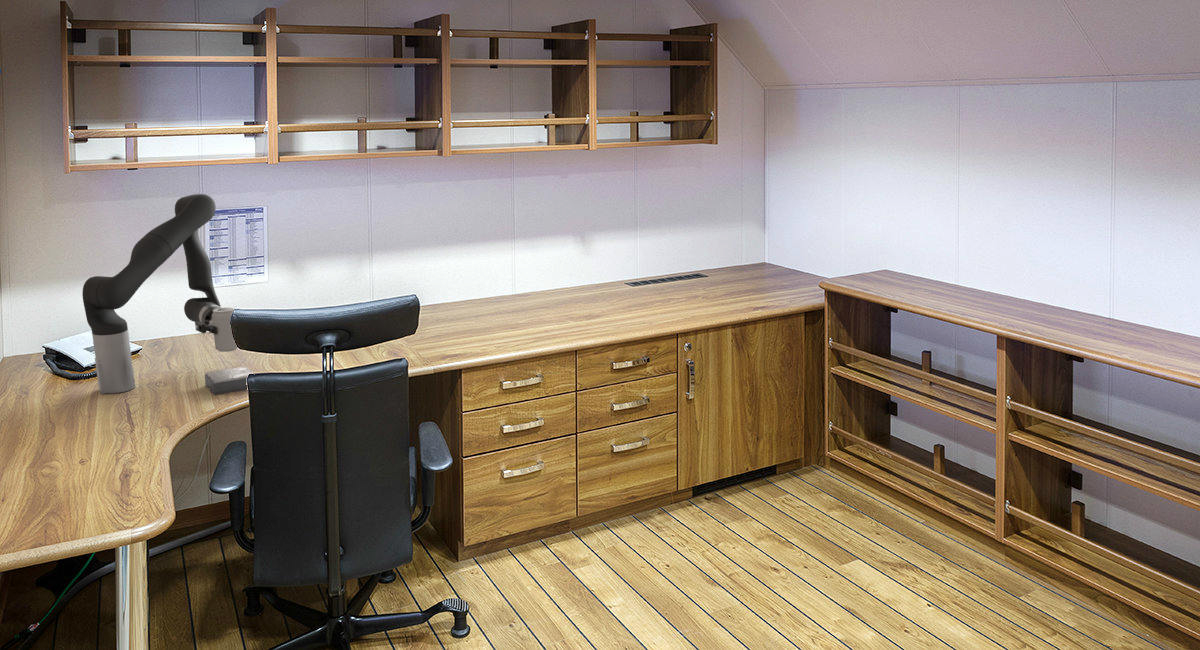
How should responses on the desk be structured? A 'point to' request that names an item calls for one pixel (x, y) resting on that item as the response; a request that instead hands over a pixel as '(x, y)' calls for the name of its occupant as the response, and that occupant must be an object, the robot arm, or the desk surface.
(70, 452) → the desk surface
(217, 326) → the beverage can
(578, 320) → the desk surface
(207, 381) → the stand
